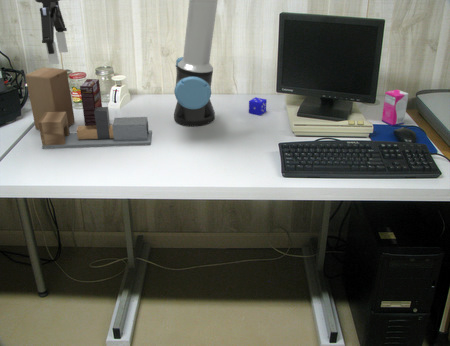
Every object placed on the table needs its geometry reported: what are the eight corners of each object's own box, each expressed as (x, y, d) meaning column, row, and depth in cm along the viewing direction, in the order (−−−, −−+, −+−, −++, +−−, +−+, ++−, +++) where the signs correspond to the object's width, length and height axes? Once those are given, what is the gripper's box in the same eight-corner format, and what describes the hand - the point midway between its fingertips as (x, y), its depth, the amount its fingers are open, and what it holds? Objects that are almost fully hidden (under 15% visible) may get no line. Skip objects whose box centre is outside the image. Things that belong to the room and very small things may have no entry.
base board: (152, 133, 174) (151, 130, 174) (150, 145, 166) (150, 142, 165) (49, 136, 172) (49, 133, 172) (42, 148, 163) (42, 145, 163)
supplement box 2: (392, 118, 186) (397, 88, 180) (404, 123, 181) (409, 93, 176) (380, 120, 184) (385, 91, 178) (391, 126, 179) (397, 96, 174)
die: (248, 113, 191) (248, 100, 188) (254, 109, 195) (255, 97, 192) (260, 115, 188) (260, 103, 186) (266, 111, 192) (266, 99, 190)
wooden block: (75, 122, 183) (67, 69, 173) (59, 133, 174) (49, 77, 165) (52, 119, 186) (43, 66, 176) (35, 129, 177) (24, 74, 168)
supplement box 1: (98, 129, 177) (92, 86, 170) (85, 129, 177) (78, 86, 170) (104, 120, 185) (99, 78, 177) (91, 120, 185) (86, 78, 177)
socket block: (69, 133, 172) (66, 111, 168) (64, 144, 164) (60, 121, 160) (49, 134, 171) (45, 112, 167) (42, 145, 163) (38, 122, 160)
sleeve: (148, 132, 172) (147, 116, 170) (147, 140, 166) (146, 124, 164) (116, 133, 172) (114, 117, 169) (114, 141, 166) (112, 125, 163)
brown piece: (145, 133, 171) (143, 105, 166) (144, 137, 168) (142, 109, 163) (80, 135, 169) (75, 107, 165) (78, 139, 166) (73, 111, 162)
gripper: (43, -18, 160) (55, 48, 170) (21, -6, 138) (37, 69, 148) (67, -19, 160) (78, 47, 170) (49, -7, 138) (62, 68, 148)
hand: (59, 57), depth 159 cm, fingers open, 13 cm apart
